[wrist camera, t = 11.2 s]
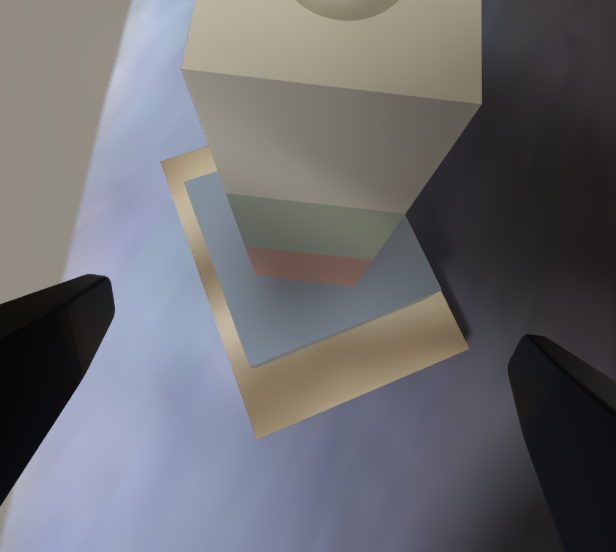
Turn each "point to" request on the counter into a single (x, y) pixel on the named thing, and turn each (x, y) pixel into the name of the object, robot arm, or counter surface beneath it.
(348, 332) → the board
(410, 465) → the counter surface
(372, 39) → the brick column
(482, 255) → the counter surface
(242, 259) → the base brick
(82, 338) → the robot arm
